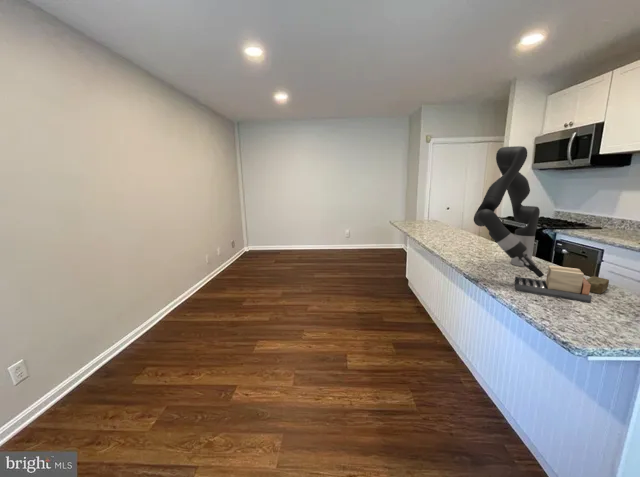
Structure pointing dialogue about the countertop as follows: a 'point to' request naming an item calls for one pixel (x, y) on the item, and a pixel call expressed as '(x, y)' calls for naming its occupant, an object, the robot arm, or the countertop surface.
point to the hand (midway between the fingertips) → (541, 276)
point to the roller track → (542, 289)
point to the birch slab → (564, 279)
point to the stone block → (598, 284)
